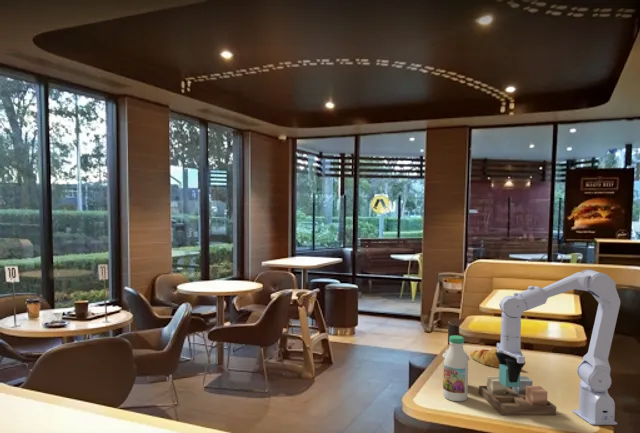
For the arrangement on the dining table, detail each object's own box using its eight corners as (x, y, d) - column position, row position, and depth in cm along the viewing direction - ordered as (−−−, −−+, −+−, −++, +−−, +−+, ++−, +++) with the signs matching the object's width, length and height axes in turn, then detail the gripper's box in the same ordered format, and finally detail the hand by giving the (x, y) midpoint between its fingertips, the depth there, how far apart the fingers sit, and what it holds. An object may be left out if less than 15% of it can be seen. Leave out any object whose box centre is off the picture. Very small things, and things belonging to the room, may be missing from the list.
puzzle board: (556, 415, 141) (556, 393, 141) (501, 415, 140) (502, 393, 140) (527, 393, 158) (528, 374, 158) (478, 393, 157) (479, 373, 157)
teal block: (519, 387, 142) (520, 369, 142) (505, 387, 142) (506, 369, 142) (512, 381, 147) (513, 364, 146) (498, 381, 146) (499, 364, 146)
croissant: (466, 367, 194) (462, 352, 191) (476, 352, 200) (472, 337, 197) (517, 380, 179) (513, 364, 176) (526, 363, 185) (523, 347, 182)
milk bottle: (448, 390, 158) (450, 332, 158) (470, 397, 153) (472, 336, 153) (438, 397, 152) (440, 336, 152) (461, 404, 147) (463, 341, 147)
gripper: (488, 329, 151) (486, 370, 151) (509, 341, 136) (507, 387, 137) (509, 329, 151) (507, 370, 152) (532, 342, 137) (530, 387, 137)
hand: (509, 379), depth 144 cm, fingers closed on teal block, 4 cm apart
